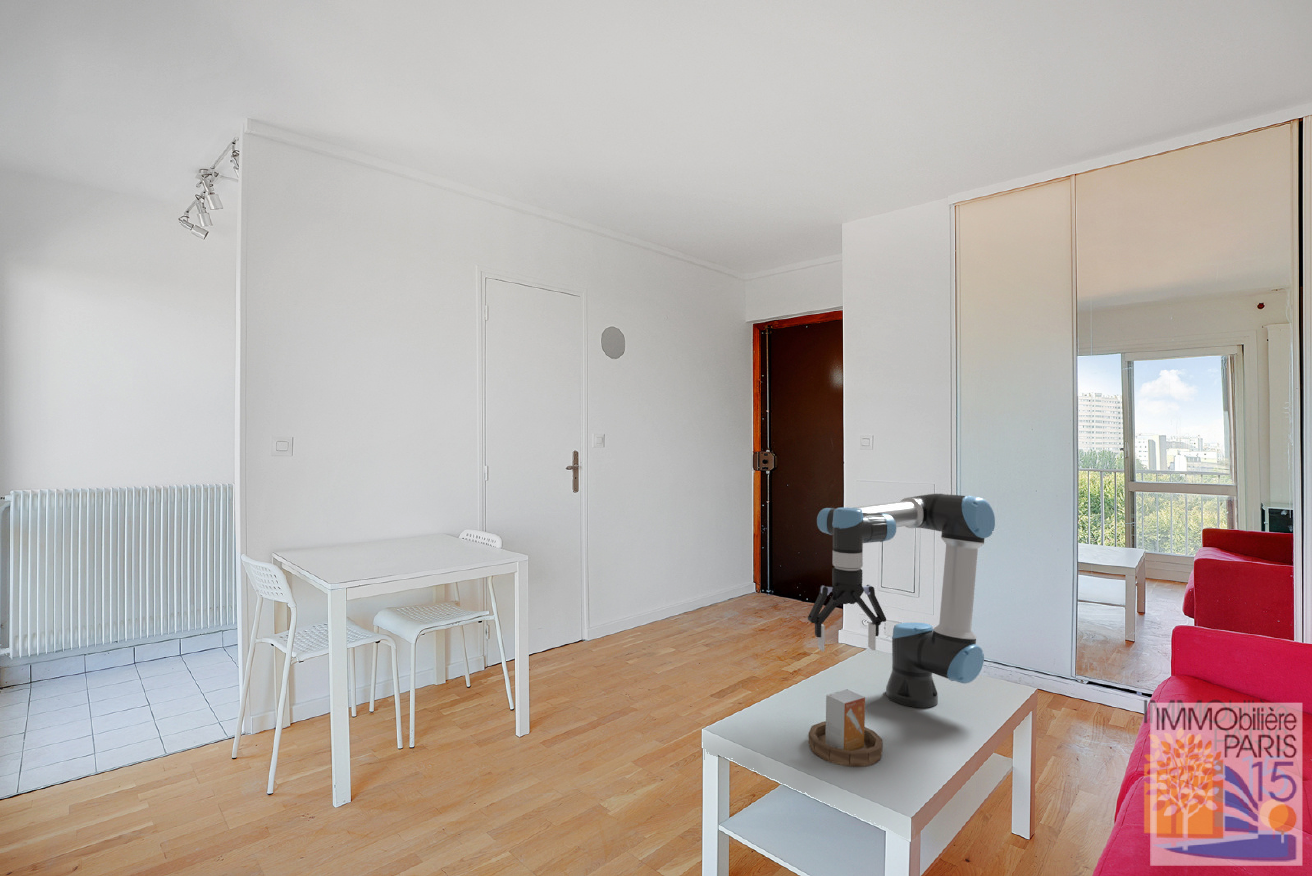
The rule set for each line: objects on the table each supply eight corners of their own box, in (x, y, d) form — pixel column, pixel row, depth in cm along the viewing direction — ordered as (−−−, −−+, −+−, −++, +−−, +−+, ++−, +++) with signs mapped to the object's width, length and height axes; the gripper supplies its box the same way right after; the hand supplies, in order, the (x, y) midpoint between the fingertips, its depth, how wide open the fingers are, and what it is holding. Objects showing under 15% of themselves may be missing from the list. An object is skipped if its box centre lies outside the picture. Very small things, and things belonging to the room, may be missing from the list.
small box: (843, 755, 159) (844, 703, 160) (824, 744, 165) (825, 694, 165) (865, 747, 164) (865, 696, 164) (845, 737, 169) (846, 688, 169)
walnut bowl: (863, 732, 174) (864, 720, 174) (894, 765, 156) (894, 752, 156) (800, 734, 172) (800, 722, 172) (823, 768, 154) (823, 754, 154)
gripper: (886, 564, 169) (886, 643, 169) (796, 565, 167) (795, 645, 167) (900, 570, 162) (899, 652, 162) (805, 570, 160) (804, 654, 160)
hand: (846, 649), depth 164 cm, fingers open, 13 cm apart
